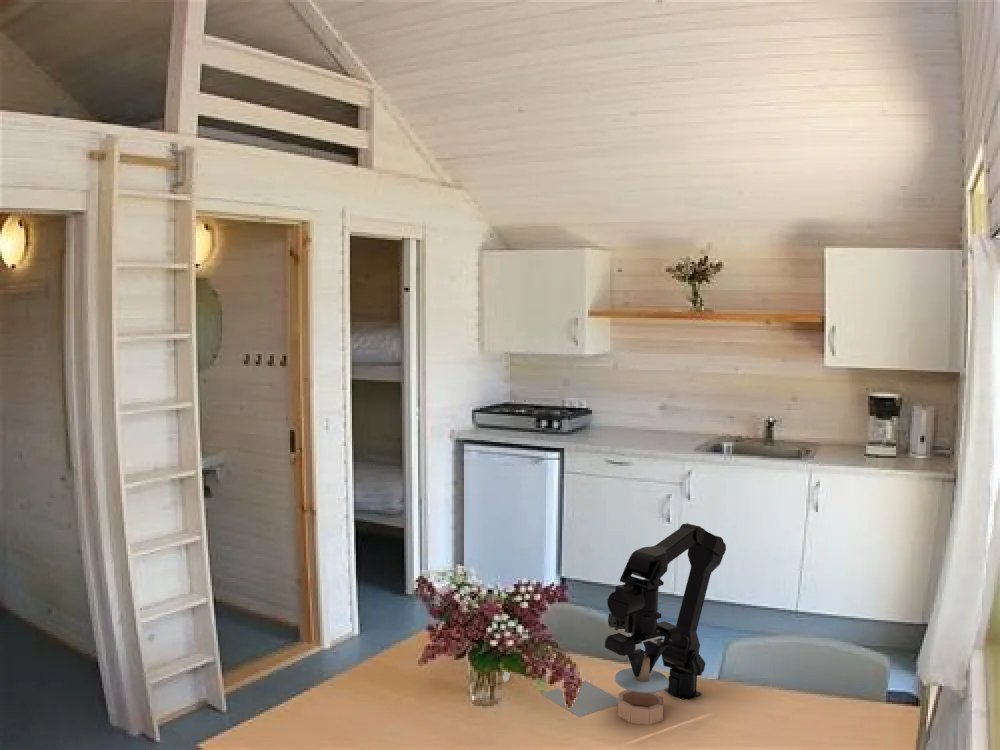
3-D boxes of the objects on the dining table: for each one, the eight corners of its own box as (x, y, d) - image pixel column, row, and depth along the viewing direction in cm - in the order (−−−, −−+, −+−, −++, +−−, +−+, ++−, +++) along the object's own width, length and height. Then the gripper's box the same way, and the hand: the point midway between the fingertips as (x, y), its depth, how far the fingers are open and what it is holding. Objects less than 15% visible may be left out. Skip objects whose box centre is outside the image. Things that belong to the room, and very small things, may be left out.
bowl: (640, 702, 207) (641, 685, 207) (671, 719, 199) (672, 702, 199) (608, 712, 201) (609, 695, 201) (639, 730, 193) (640, 712, 193)
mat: (585, 682, 217) (585, 680, 217) (624, 704, 206) (625, 702, 206) (540, 695, 209) (540, 693, 209) (579, 719, 198) (579, 716, 198)
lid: (642, 666, 208) (643, 643, 208) (680, 685, 198) (681, 660, 198) (604, 677, 201) (605, 653, 201) (641, 697, 191) (642, 672, 191)
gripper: (649, 590, 210) (646, 653, 212) (589, 604, 200) (587, 670, 201) (683, 604, 201) (681, 670, 202) (623, 619, 190) (621, 689, 192)
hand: (642, 674), depth 200 cm, fingers closed on lid, 3 cm apart
